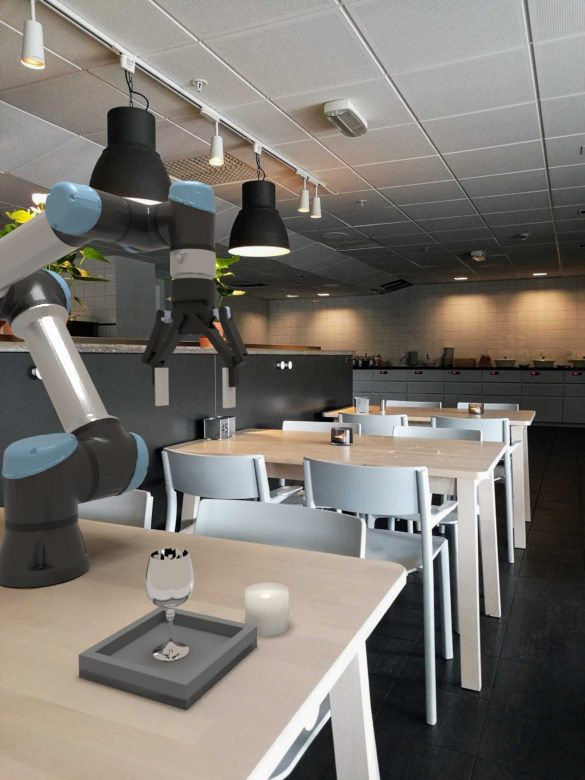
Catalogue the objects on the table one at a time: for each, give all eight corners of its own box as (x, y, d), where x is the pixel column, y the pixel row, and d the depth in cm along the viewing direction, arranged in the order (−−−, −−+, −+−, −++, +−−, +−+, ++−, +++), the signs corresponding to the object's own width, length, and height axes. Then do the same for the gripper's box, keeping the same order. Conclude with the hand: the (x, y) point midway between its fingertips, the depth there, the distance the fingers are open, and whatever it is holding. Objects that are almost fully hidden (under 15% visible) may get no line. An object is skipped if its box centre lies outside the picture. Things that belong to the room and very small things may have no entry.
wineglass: (141, 647, 71) (140, 550, 71) (186, 637, 74) (185, 544, 73) (152, 668, 66) (151, 564, 66) (201, 657, 69) (200, 557, 68)
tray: (79, 676, 66) (78, 654, 66) (162, 623, 80) (161, 605, 80) (186, 709, 60) (186, 685, 60) (257, 646, 73) (256, 626, 73)
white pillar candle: (236, 631, 78) (236, 595, 77) (258, 614, 83) (258, 579, 83) (276, 640, 75) (276, 602, 75) (296, 622, 80) (296, 586, 80)
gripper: (119, 281, 98) (121, 406, 99) (246, 270, 88) (247, 410, 88) (148, 286, 105) (150, 403, 106) (269, 277, 94) (270, 407, 95)
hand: (194, 406), depth 97 cm, fingers open, 13 cm apart
